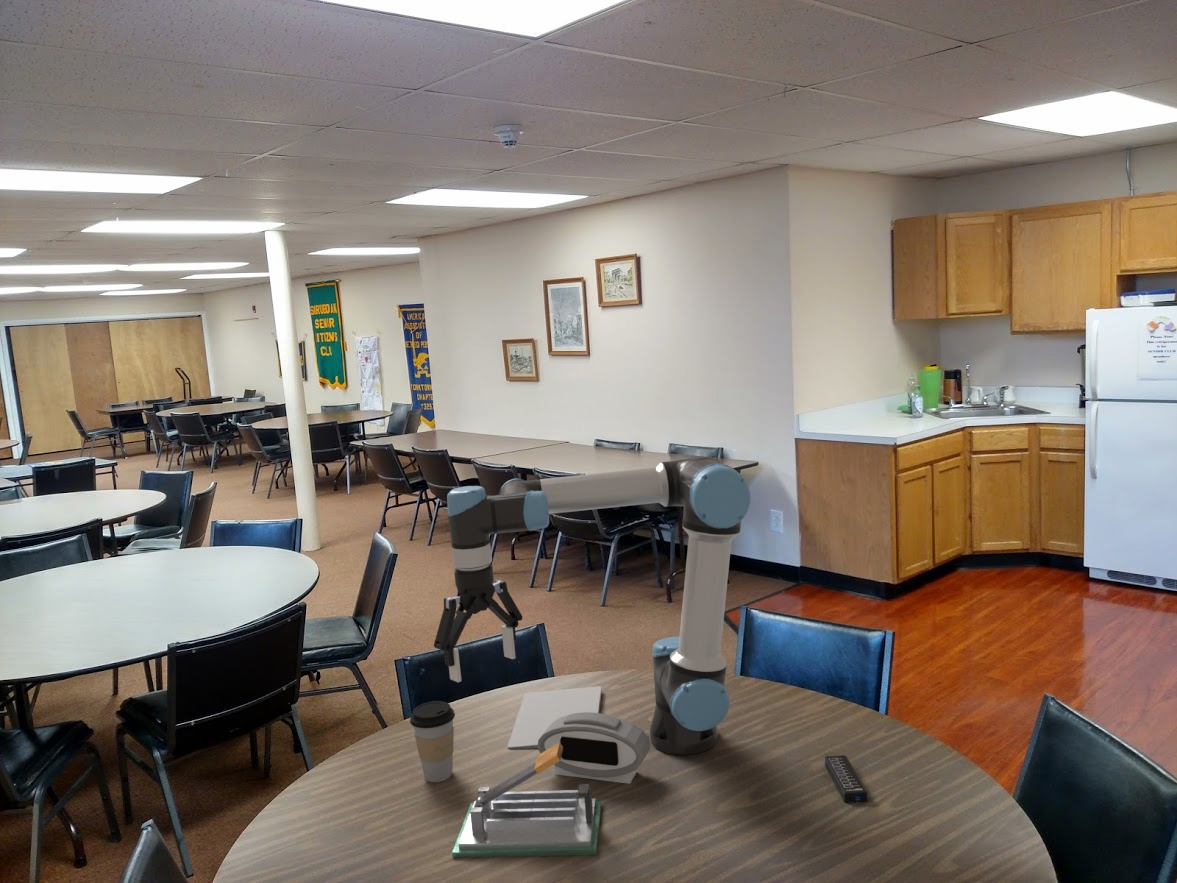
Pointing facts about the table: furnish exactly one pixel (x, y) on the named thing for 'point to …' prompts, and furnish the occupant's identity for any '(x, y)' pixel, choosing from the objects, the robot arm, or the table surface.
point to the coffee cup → (434, 739)
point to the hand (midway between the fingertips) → (483, 668)
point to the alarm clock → (596, 746)
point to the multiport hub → (846, 779)
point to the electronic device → (550, 712)
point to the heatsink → (531, 825)
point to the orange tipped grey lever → (522, 775)
